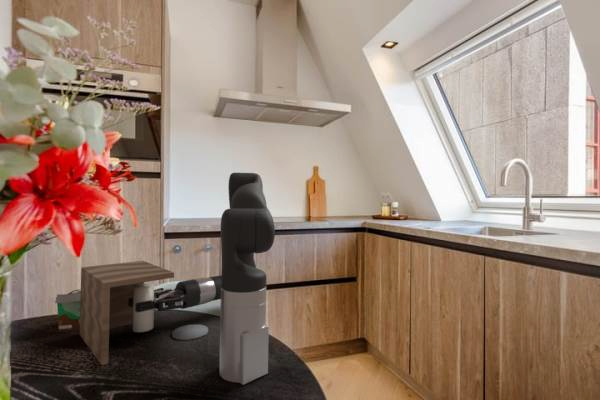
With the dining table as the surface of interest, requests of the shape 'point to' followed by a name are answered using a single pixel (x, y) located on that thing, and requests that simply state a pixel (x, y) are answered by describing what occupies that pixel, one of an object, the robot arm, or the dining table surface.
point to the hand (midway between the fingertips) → (132, 305)
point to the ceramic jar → (145, 318)
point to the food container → (69, 311)
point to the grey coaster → (189, 332)
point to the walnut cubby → (111, 300)
